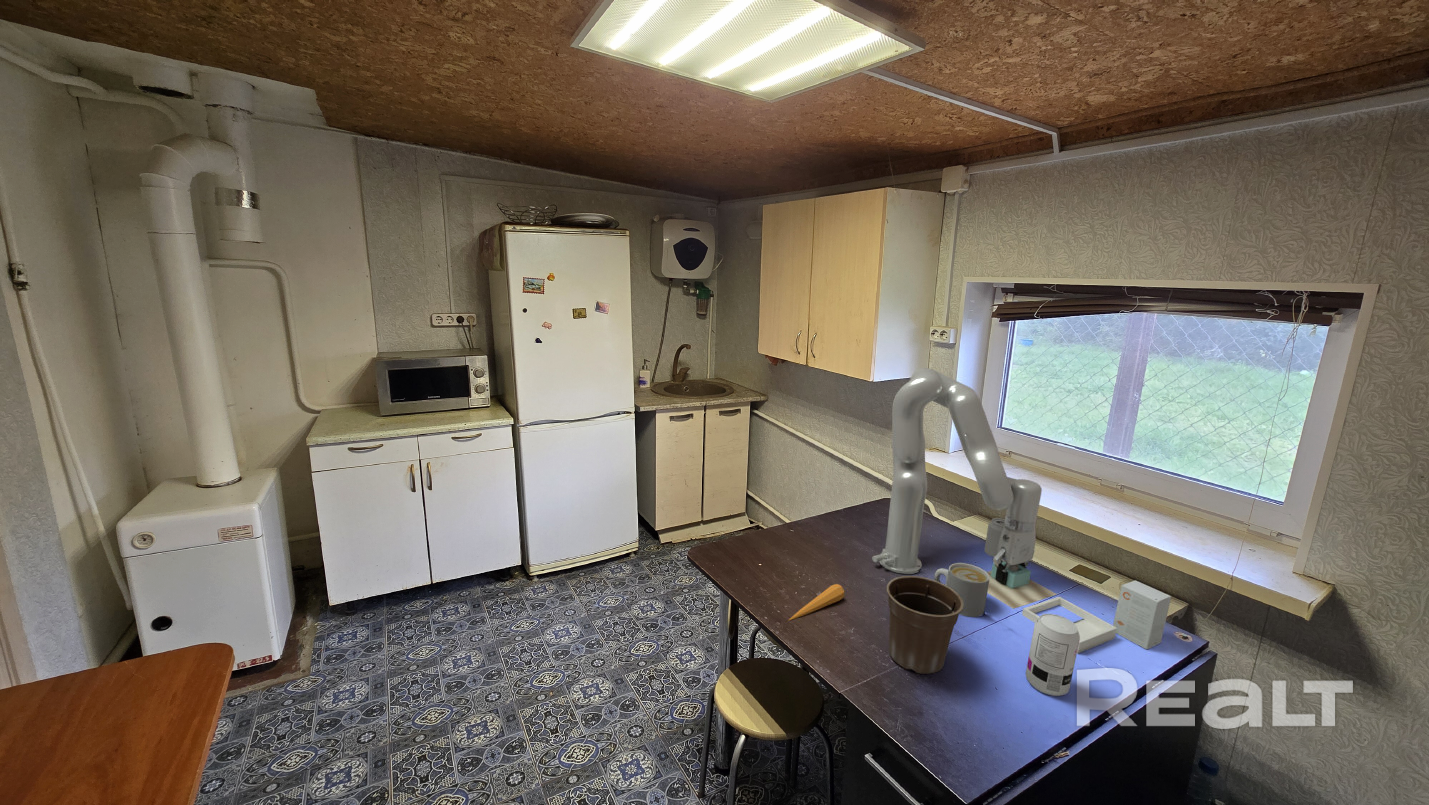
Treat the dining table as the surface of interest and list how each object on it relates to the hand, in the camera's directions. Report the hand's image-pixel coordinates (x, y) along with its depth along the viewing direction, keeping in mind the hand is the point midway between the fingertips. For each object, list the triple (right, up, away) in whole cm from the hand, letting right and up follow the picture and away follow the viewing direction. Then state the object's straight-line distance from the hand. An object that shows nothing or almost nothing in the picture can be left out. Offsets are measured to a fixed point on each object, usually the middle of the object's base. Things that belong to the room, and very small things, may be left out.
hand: (1009, 579), depth 158 cm
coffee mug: (-19, -3, -10) cm, 22 cm away
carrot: (-59, -3, -14) cm, 61 cm away
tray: (+4, -6, -19) cm, 21 cm away
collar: (0, 0, 0) cm, 0 cm away
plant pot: (-39, -8, -32) cm, 51 cm away
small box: (+20, -8, -22) cm, 30 cm away
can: (+5, +2, +16) cm, 17 cm away
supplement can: (-13, -10, -39) cm, 42 cm away
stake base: (-2, -2, -3) cm, 4 cm away
